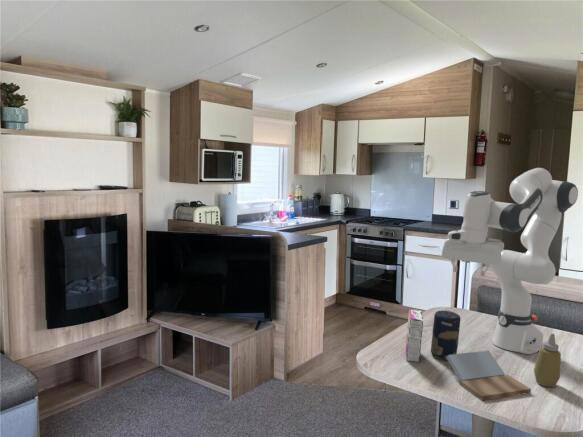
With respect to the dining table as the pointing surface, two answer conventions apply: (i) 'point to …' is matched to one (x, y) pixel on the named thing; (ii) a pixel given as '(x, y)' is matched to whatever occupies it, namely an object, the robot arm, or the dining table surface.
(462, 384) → the floorboard
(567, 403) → the dining table surface
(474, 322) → the dining table surface
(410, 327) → the candy bar box
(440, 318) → the canister
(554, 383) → the squeeze bottle
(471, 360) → the plank
